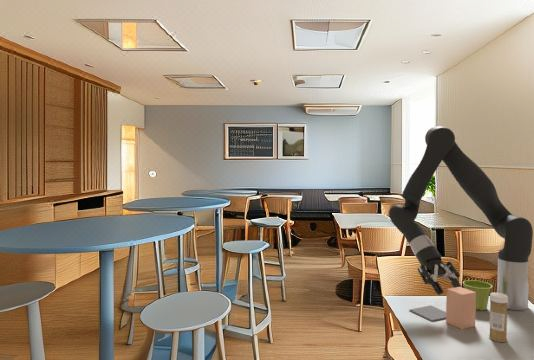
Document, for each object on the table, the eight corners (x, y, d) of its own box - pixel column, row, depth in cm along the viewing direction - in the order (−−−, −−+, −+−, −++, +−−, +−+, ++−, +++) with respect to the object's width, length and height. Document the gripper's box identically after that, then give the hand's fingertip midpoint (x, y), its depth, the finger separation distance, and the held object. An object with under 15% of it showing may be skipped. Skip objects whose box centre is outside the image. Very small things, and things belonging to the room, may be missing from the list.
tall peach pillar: (459, 319, 127) (459, 286, 127) (475, 326, 121) (476, 292, 121) (445, 321, 125) (446, 288, 124) (461, 329, 119) (462, 294, 119)
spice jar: (509, 340, 112) (511, 295, 111) (502, 344, 109) (503, 298, 109) (493, 334, 116) (494, 290, 115) (485, 338, 113) (486, 293, 113)
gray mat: (430, 306, 138) (430, 305, 138) (454, 316, 129) (454, 315, 129) (409, 310, 134) (409, 309, 134) (432, 321, 125) (432, 320, 125)
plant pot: (482, 314, 131) (482, 289, 131) (456, 305, 139) (457, 282, 139) (497, 309, 136) (498, 285, 135) (471, 301, 144) (472, 278, 144)
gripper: (415, 246, 131) (441, 289, 121) (445, 243, 137) (473, 284, 127) (404, 258, 136) (428, 300, 126) (433, 254, 142) (459, 294, 132)
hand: (450, 292), depth 126 cm, fingers open, 8 cm apart
